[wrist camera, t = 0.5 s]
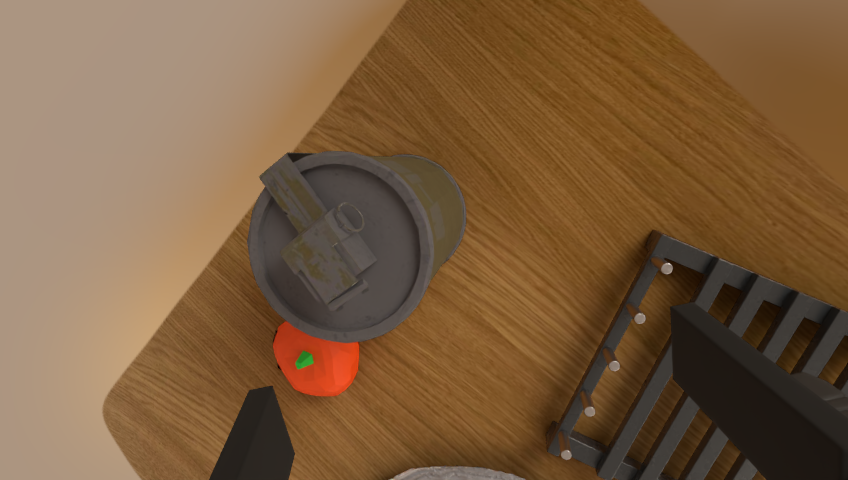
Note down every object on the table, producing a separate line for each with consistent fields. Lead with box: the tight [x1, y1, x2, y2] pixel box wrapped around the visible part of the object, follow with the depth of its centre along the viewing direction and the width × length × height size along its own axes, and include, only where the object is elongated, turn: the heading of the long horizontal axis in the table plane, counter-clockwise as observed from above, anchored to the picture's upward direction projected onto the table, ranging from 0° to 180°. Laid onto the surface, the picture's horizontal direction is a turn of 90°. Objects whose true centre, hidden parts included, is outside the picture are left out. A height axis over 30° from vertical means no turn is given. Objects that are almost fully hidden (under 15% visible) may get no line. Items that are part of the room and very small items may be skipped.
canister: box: [247, 151, 466, 343], centre depth 34 cm, size 11×10×20 cm
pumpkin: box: [273, 321, 359, 396], centre depth 44 cm, size 7×8×6 cm
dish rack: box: [546, 230, 848, 480], centre depth 39 cm, size 20×22×6 cm
